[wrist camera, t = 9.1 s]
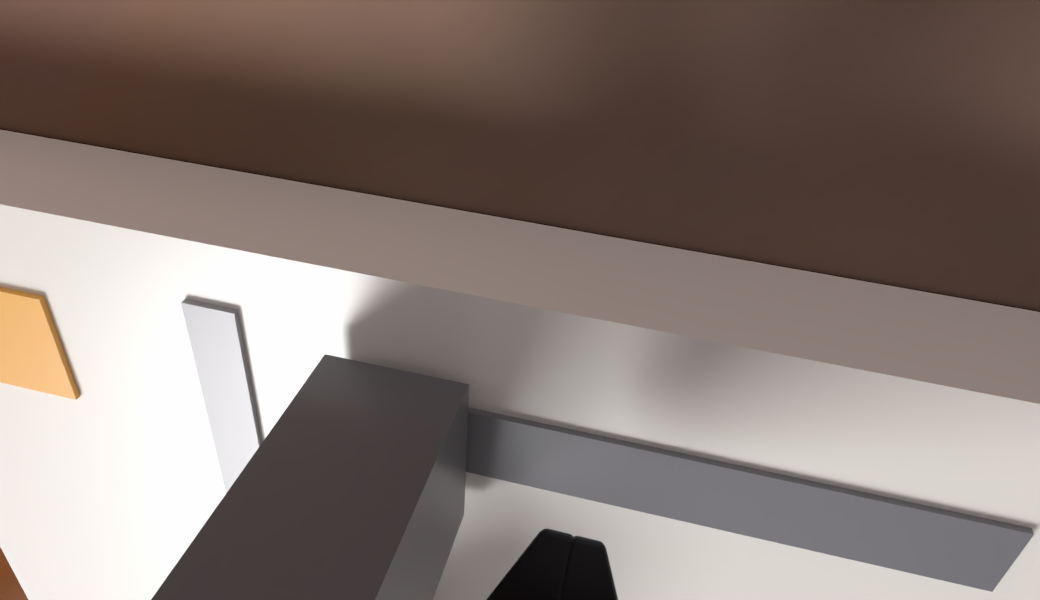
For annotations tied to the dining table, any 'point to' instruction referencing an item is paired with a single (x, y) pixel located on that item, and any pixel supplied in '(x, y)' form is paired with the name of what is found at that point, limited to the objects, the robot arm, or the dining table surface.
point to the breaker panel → (499, 389)
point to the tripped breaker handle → (340, 495)
